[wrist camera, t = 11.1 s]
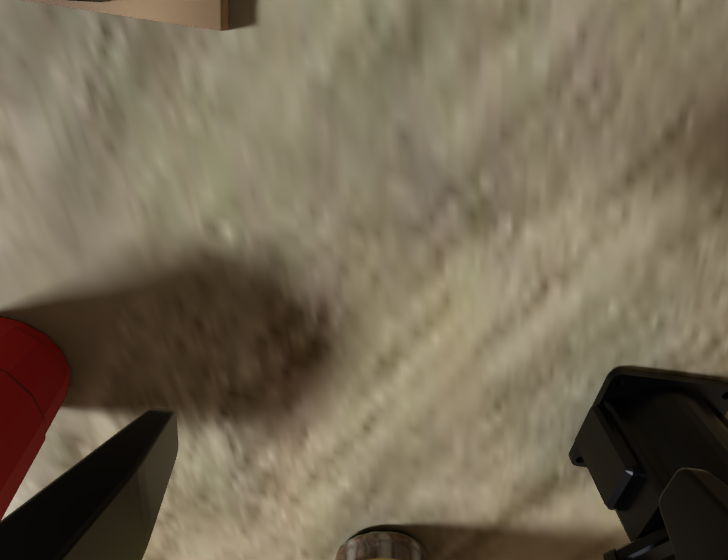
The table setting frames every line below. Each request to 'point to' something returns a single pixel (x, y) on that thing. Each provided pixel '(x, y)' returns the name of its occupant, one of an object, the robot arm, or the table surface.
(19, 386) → the plastic cup
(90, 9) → the collar
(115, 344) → the table surface
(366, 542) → the sauce bottle
